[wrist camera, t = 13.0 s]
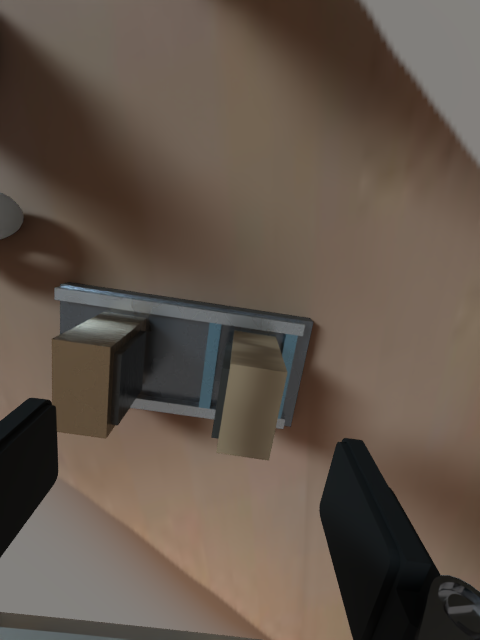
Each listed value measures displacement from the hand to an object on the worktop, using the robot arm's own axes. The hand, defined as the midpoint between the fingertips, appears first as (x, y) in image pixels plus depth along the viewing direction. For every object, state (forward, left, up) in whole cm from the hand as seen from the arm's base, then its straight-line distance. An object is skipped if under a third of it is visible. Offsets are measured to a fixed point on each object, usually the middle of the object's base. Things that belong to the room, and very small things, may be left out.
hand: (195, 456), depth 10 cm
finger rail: (+6, -4, -24) cm, 25 cm away
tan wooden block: (+6, +3, -22) cm, 23 cm away
